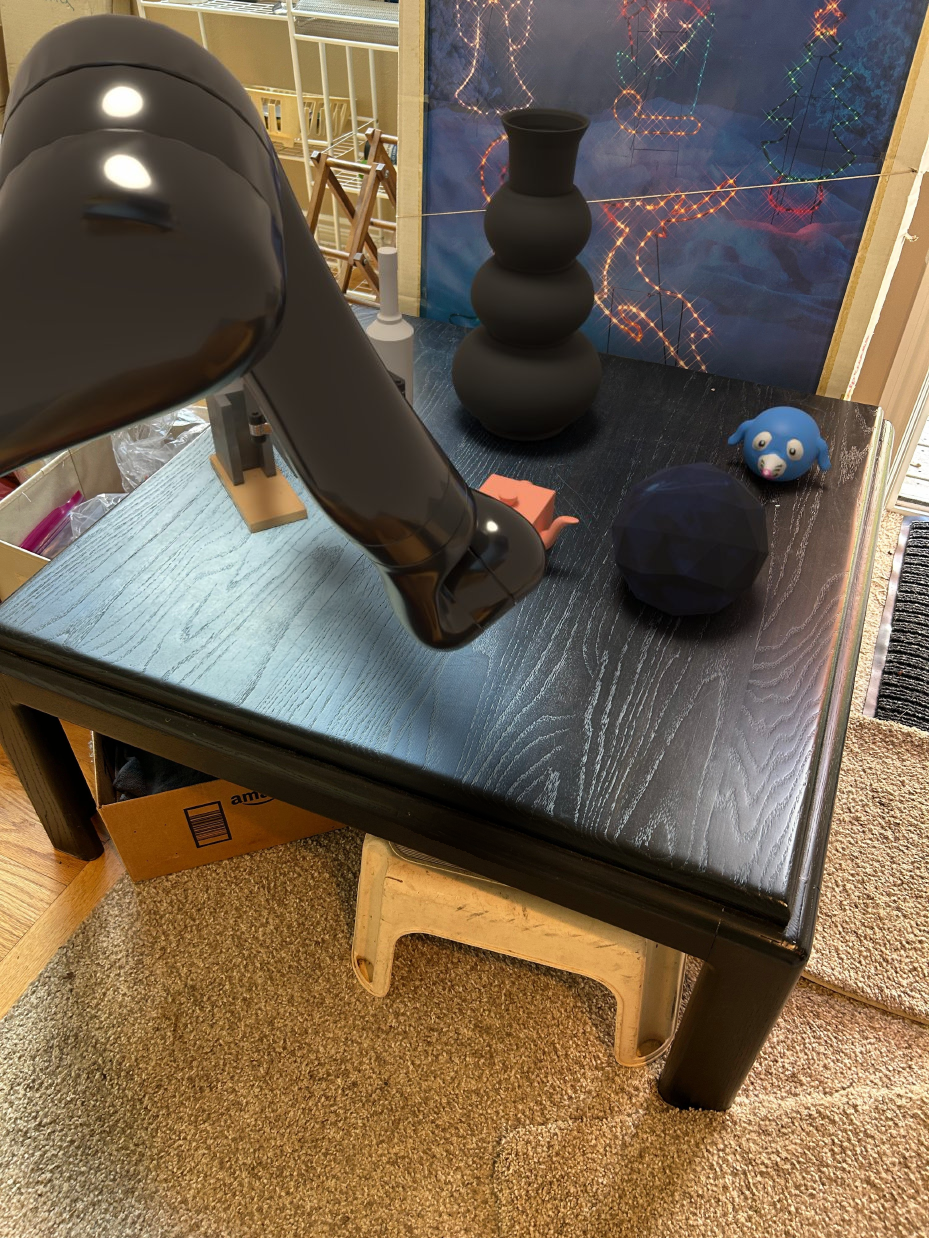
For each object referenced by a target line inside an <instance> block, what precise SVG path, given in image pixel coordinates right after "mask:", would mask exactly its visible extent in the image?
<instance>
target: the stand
mask: <svg viewBox="0 0 929 1238" xmlns="http://www.w3.org/2000/svg"><path fill="white" fill-rule="evenodd" d="M244 383H245V382H244V380H243V379H242V378H240V379H239V380H237V381H236V382H234V383H233V384H231V385H230V386H228V387H226V388H225V389H223V390H221V391H219V392H217V393H215V394H213V395H211V396H209V397H207V398H205V399H204V400H205V403H206V404H205V405H206V408H207V415H208V419H209V425H210V430H211V435H212V440H213V446H214V452H215V453H213V454H209V455H208V458H209V463H210V465H211V467H212V468H213V471H214V472H215V474H216V475H217V477H218V479H219V480H220V483H221V484H222V485H223V487H224V489H225V491H226V492H227V494H228V496H229V497H230V499H231V501H232V503H233V504H234V506H235V508H236V509H237V511H238V512H239V514H240V516H241V518H242V520H243V521H244V523H245V524H246V526H247V528H248V530H249V531H250V533H251V534H254V533H257V532H260V531H264V530H268V529H271V528H275V527H278V526H279V527H280V526H282V525H286V524H289V523H293V522H297V521H300V520H304V519H308V510H307V507H306V506H305V504H304V503H303V501H302V500H301V498H300V497H299V496H298V494H297V493H296V491H295V490H294V489H293V487H292V486H291V484H290V482H289V481H288V480H287V478H286V477H285V475H284V474H283V472H282V471H281V469H280V468H279V466H278V465H277V463H276V460H275V459H276V458H275V453H274V452H275V451H274V446H273V444H272V443H271V441H270V435H269V434H266V437H267V441H266V442H264V443H262V444H255V443H253V442H252V440H251V434H250V428H249V422H248V416H247V410H246V402H245V396H244V390H243V384H244Z"/></svg>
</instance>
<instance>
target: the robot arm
mask: <svg viewBox="0 0 929 1238" xmlns="http://www.w3.org/2000/svg"><path fill="white" fill-rule="evenodd" d="M292 187H293V186H292V185H291V183H290V181H289V178H288V175H287V174H286V171H285V169H284V167H283V165H282V163H281V160H280V158H279V156H278V153H277V151H276V149H275V146H274V144H273V141H272V139H271V137H270V135H269V132H268V130H267V128H266V126H265V124H264V121H263V119H262V116H261V114H260V112H259V110H258V108H257V106H256V104H255V102H254V101H253V100H252V97H251V96H250V94H249V92H248V91H247V90H246V88H245V87H244V85H243V84H242V82H241V81H240V80H239V79H238V78H237V77H236V76H235V75H234V74H233V73H232V72H231V70H229V68H227V66H226V65H225V64H224V63H223V62H222V61H221V60H220V59H219V57H218V56H216V55H215V54H213V53H212V52H210V51H209V50H208V49H207V48H205V47H204V46H203V45H202V44H200V43H199V42H197V41H196V40H195V39H193V37H190V36H188V35H186V34H185V33H183V32H181V31H178V30H177V29H175V28H174V27H171V26H169V25H167V24H165V23H162V22H158V21H155V20H151V19H148V18H144V17H142V16H139V15H133V14H120V13H109V12H108V13H107V12H106V13H99V14H91V15H84V16H80V17H77V18H75V19H72V20H70V21H67V22H65V23H63V24H60V25H57V26H55V27H53V28H52V29H51V30H49V31H47V32H46V33H45V34H43V35H42V36H41V37H40V38H39V39H38V40H37V41H35V43H34V44H33V45H32V47H31V48H30V49H29V51H28V52H27V53H26V54H25V56H24V57H23V59H22V60H21V62H20V64H19V65H18V68H17V71H16V74H15V77H14V79H13V82H12V84H11V87H10V91H9V93H8V97H7V100H6V104H5V109H4V117H3V122H2V129H1V137H0V478H2V477H5V476H6V475H9V474H11V473H13V472H15V471H18V470H21V469H23V468H26V467H28V466H30V465H33V464H35V463H37V462H41V461H43V460H46V459H48V458H51V457H54V456H57V455H59V454H62V453H64V452H67V451H70V450H73V449H77V448H78V447H81V446H84V445H88V444H90V443H93V442H95V441H99V440H100V439H104V438H106V437H109V436H113V435H115V434H118V433H120V432H123V431H126V430H129V429H132V428H134V427H136V426H140V425H142V424H145V423H148V422H150V421H154V420H156V419H159V418H161V417H164V416H167V415H169V414H173V413H175V412H177V411H179V410H182V409H184V408H186V407H189V406H191V405H194V404H195V403H198V402H201V401H202V400H206V399H205V398H207V397H209V396H211V395H213V394H215V393H217V392H219V391H221V390H223V389H225V388H226V387H228V386H230V385H231V384H233V383H234V382H236V381H237V380H239V379H240V378H242V379H243V380H244V382H245V383H244V384H243V390H244V396H245V402H246V410H247V416H248V422H249V428H250V434H251V440H252V442H253V443H255V444H262V443H264V442H266V441H267V437H266V434H270V433H274V435H275V437H276V439H277V441H278V442H279V444H280V446H281V448H282V450H283V452H284V454H285V455H286V457H287V459H288V461H289V463H290V464H291V466H292V468H293V470H294V472H295V473H296V475H297V477H298V478H297V479H298V480H299V482H300V484H301V485H302V487H303V489H304V490H305V492H306V494H308V497H309V498H310V499H311V500H312V502H313V503H314V504H315V506H316V507H317V508H318V509H319V511H320V512H321V514H323V516H324V517H325V518H326V519H327V520H328V521H329V522H330V524H331V525H332V526H333V527H334V528H335V529H336V530H338V532H339V533H341V534H342V535H343V536H344V537H345V538H346V539H347V540H348V541H349V542H350V543H351V544H352V545H354V547H356V548H357V549H358V550H359V551H360V552H361V553H362V554H363V555H364V556H365V557H366V558H367V559H368V560H369V561H370V562H371V563H372V564H373V565H374V566H375V568H376V570H377V572H378V574H379V576H380V579H381V582H382V585H383V588H384V591H385V595H386V597H387V600H388V602H389V605H390V607H391V609H392V611H393V613H394V615H395V617H396V619H397V621H398V622H399V624H400V625H401V627H402V628H403V629H404V630H405V632H406V633H407V634H408V636H410V637H411V639H413V641H415V642H416V643H417V644H418V645H420V646H421V647H423V648H425V649H426V650H429V651H431V652H437V653H453V652H456V651H460V650H462V649H464V648H466V647H468V646H470V645H471V644H472V643H474V641H476V640H477V639H478V638H479V637H481V636H482V635H483V634H484V633H485V632H486V631H488V630H489V629H490V628H491V627H492V626H493V625H495V624H496V623H497V622H498V621H500V619H502V618H503V617H504V616H506V615H507V613H509V612H511V610H512V609H513V608H515V607H516V605H517V604H518V605H519V604H520V603H522V601H524V600H525V599H526V598H527V597H528V596H529V595H530V594H531V593H533V592H534V591H535V590H536V589H537V588H538V587H539V585H540V584H541V583H542V582H543V580H544V578H545V576H546V573H547V569H548V555H547V550H546V548H545V545H544V542H543V540H542V538H541V536H540V534H539V533H538V531H537V530H536V529H535V527H534V526H533V525H532V524H531V523H530V522H529V521H528V520H527V519H526V518H525V517H524V516H523V515H522V514H520V513H519V512H518V511H516V510H515V509H514V508H512V507H510V506H509V505H507V504H505V503H504V502H502V501H500V500H498V499H496V498H494V497H492V496H490V495H487V494H485V493H483V492H480V491H478V490H479V489H475V488H473V487H470V486H469V484H468V483H467V481H466V479H464V477H463V476H462V474H461V473H460V471H459V470H458V469H457V468H456V466H455V464H454V463H453V462H452V461H451V459H450V458H449V456H448V455H447V454H446V452H445V451H444V450H443V448H442V447H441V445H440V443H439V442H438V441H437V439H435V437H434V435H433V434H432V432H431V431H430V430H429V428H428V427H427V425H426V424H425V423H424V421H422V419H421V417H420V416H419V415H418V413H417V412H416V410H415V409H414V407H413V408H412V406H411V405H410V403H409V402H408V400H407V399H406V391H405V380H404V379H402V378H401V377H399V376H397V375H396V374H394V373H392V372H391V371H389V370H387V368H386V366H385V365H384V363H383V362H382V360H381V358H380V357H379V355H378V353H377V352H376V350H375V349H374V347H373V345H372V344H371V342H370V340H369V338H368V337H367V335H366V331H365V330H364V328H363V326H362V325H361V323H360V321H359V320H358V317H357V316H356V314H355V312H354V310H353V309H352V307H351V305H350V303H349V302H348V299H347V298H346V296H345V295H344V292H343V291H342V289H341V287H340V285H339V283H338V281H337V280H336V278H335V276H334V274H333V272H332V270H331V267H329V264H328V262H327V260H326V258H325V256H324V255H323V252H322V251H321V249H320V246H319V244H318V243H317V242H318V241H317V240H316V239H315V236H314V235H313V231H311V228H310V225H309V223H308V221H307V219H306V217H305V214H304V213H303V210H302V208H301V205H300V203H299V201H298V199H297V197H296V194H295V192H294V190H293V188H292Z"/></svg>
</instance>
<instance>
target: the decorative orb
mask: <svg viewBox="0 0 929 1238" xmlns="http://www.w3.org/2000/svg"><path fill="white" fill-rule="evenodd" d="M610 527H611V537H612V544H613V545H612V546H613V555H614V562H615V564H616V567H617V568H618V570H619V571H620V573H621V575H622V576H623V578H624V580H625V582H626V583H627V585H628V587H629V588H630V590H631V592H632V593H633V595H634V596H635V598H636V599H637V600H640V601H642V602H644V603H646V604H648V605H650V606H652V607H653V608H656V609H658V610H660V611H662V612H663V613H666V614H667V615H669V616H672V617H679V616H680V617H681V616H695V615H706V614H707V615H708V614H716V613H718V612H719V611H721V610H722V609H723V608H725V607H727V605H729V604H730V603H732V602H734V601H735V600H736V599H738V598H739V597H740V596H741V595H743V594H744V593H745V592H747V591H749V590H750V589H751V588H752V587H753V586H754V584H755V582H756V580H757V578H758V576H759V574H760V572H761V570H762V568H763V566H764V565H765V562H766V561H767V559H768V556H769V555H770V551H769V540H768V528H767V516H766V508H765V507H764V505H763V504H762V503H761V502H760V500H758V499H757V497H756V496H755V495H754V494H753V492H751V490H750V489H749V488H748V487H747V486H746V484H744V482H743V481H742V480H740V479H738V478H737V477H735V476H733V475H732V474H731V473H728V472H726V471H724V470H723V469H721V468H719V467H716V466H714V465H712V464H711V463H709V462H706V461H701V462H695V463H688V464H682V465H674V466H668V467H663V468H661V469H659V470H658V471H656V472H654V473H653V474H651V475H649V476H648V477H647V478H645V479H643V480H642V481H640V482H638V483H636V484H635V485H633V486H632V489H631V490H630V492H629V494H628V495H627V497H626V499H625V500H624V503H623V504H622V506H621V508H619V511H618V513H617V515H616V516H615V518H614V520H613V522H612V524H611V526H610Z"/></svg>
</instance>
